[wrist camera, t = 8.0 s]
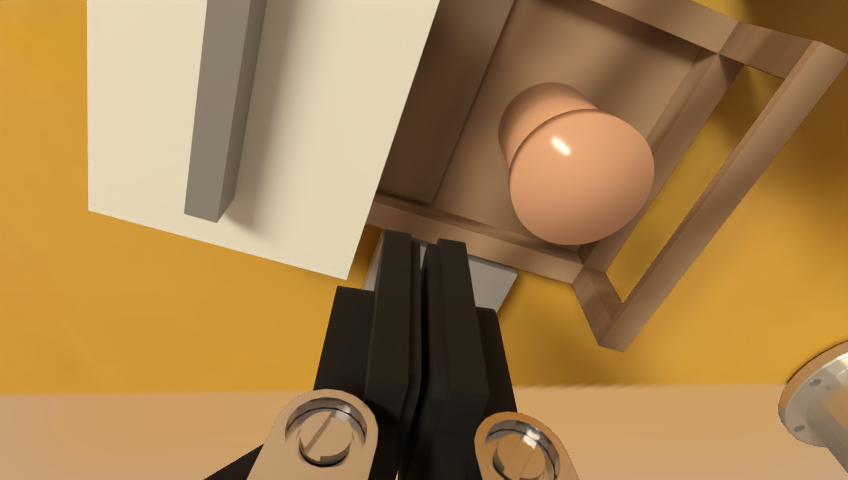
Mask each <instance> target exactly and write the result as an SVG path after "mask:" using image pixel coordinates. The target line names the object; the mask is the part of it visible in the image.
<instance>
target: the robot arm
mask: <svg viewBox="0 0 848 480" xmlns="http://www.w3.org/2000/svg"><path fill="white" fill-rule="evenodd" d="M778 405H779V406H778V407H779V416H780V419H781V422H782V423H783V424H784V425H785V427H786V428H787V430H788V431H789V432H790V433H791V434H792V435H793V436H794V437H795V438H796V439H798V440H800V441H802V442H804V443H807V444H811V445H814V446H818V447H827V448H829V450H830V451H831V452H832V454H833V455H834V456H835V458H836V459H837V460H838V461H839V463H840V464H841V465H842V466H843V468H844V469H845V470H846V471H847V473H848V341H847V342H845V343H842V344H840V345H837V346H835V347H833V348H832V349H830V350H828V351H826V352H824V353H822V354H821V355H819V356H818V357H816V358H815V359H813V360H812V361H810V362H809V363H807V364H806V365H805V366H804V367H803V368H802V369H801V370H799V371H798V372H797V373H796V374H795V375H794V377H793V378H792V379H791V380H790V381H789V383H788V384H787V386H786V387H785V389H784V391H783V393H782V394H781V398H780V401H779V404H778ZM397 472H398V480H579V478H578V475H577V473H576V471H575V469H574V467H573V464H572V462H571V460H570V457H569V455H568V453H567V451H566V449H565V448H564V446H563V444H562V443H561V441H560V439H559V438H558V437H557V436H556V435H555V434H554V433H553V432H552V431H551V430H550V429H549V428H548V427H547V426H546V425H544V424H543V423H541V422H540V421H538V420H536V419H535V418H532V417H530V416H527V415H524V414H522V413H518V412H517V408H516V403H515V398H514V393H513V389H512V384H511V379H510V374H509V370H508V365H507V360H506V356H505V351H504V346H503V341H502V337H501V332H500V327H499V322H498V318H497V314H496V311H495V310H494V309H490V308H484V307H477V306H476V305H475V299H474V292H473V286H472V280H471V273H470V267H469V261H468V255H467V248H466V243H465V242H461V241H455V240H449V239H442V238H439V239H438V241H437V243H436V244H430V243H428V244H427V246H426V250H425V254H424V259H423V263H422V267H421V255H420V242H418V241H412V240H411V233H406V232H400V231H394V230H387V229H385V231H384V236H383V242H382V247H381V253H380V258H379V264H378V270H377V275H376V281H375V286H374V291H370V290H363V289H356V288H349V287H343V286H337V290H336V294H335V298H334V302H333V306H332V311H331V315H330V319H329V324H328V328H327V332H326V337H325V341H324V345H323V350H322V354H321V358H320V363H319V367H318V371H317V376H316V380H315V384H314V389H313V391H310V392H307V393H305V394H302V395H300V396H297V397H296V398H295V399H293V400H292V401H291V402H289V403H288V404H287V405H286V406H285V407H284V408H283V410H282V411H281V412H280V414H279V415H278V417H277V419H276V421H275V422H274V425H273V427H272V429H271V431H270V433H269V435H268V437H267V439H266V441H265V443H264V444H263V445H261V446H259V447H258V448H256V449H254V450H253V451H251V452H249V453H248V454H246V455H244V456H242V457H241V458H239V459H237V460H236V461H234V462H232V463H231V464H229V465H227V466H226V467H224V468H222V469H221V470H219V471H217V472H216V473H214V474H212V475H211V476H209V477H207V478H206V479H204V480H395V479H396V475H397Z"/></svg>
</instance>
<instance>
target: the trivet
mask: <svg viewBox="0 0 848 480" xmlns="http://www.w3.org/2000/svg"><path fill="white" fill-rule="evenodd" d="M384 231H385V229H382V232H381V234H380V237H379V240H378V243H377V246H376V248H375V251H374V254H373V257H372V260H371V262H370V265H369V268H368V271H367V274H366V276H365V279H364V282H363V285H362V288H361V289H363V290H370V291H374V286H375V281H376V275H377V270H378V264H379V258H380V253H381V247H382V242H383V236H384ZM411 240H412V241H418V242H420V255H421V267H422V263H423V259H424V254H425V250H426V246H427V244H428V243H430V242H427V241H423V240H420V239H417V238H413V237H411ZM430 244H434V243H430ZM467 255H468V261H469V267H470V273H471V280H472V286H473V292H474V299H475V305H476V306H477V307H484V308H490V309H494V310H495V311H496V313H497V311H498V310H499V308H500V306H501V304H502V302H503V301H504V299H505V297H506V295H507V293H508V292H509V290H510V288H511V286H512V284H513V283H514V281H515V279H516V277H517V275H518V272H517V269H516V268H515V267H511V266H508V265H505V264H501V263H498V262H495V261H491V260H488V259H484V258H481V257H478V256H474V255H471V254H467Z"/></svg>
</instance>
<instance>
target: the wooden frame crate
mask: <svg viewBox="0 0 848 480" xmlns="http://www.w3.org/2000/svg"><path fill="white" fill-rule="evenodd" d="M847 63H848V54H846V53H844V52H842V51H840V50H837V49H835V48H833V47H831V46H828V45H826V44H824V43H822V42H818V41H814V40H810V39H807V38H803V37H799V36H795V35H791V34H787V33H783V32H779V31H775V30H771V29H767V28H764V27H760V26H756V25H752V24H748V23H744V22H740V21H737V20H735V19H733V18H730V17H728V16H726V15H724V14H721V13H719V12H717V11H714V10H712V9H710V8H708V7H705V6H703V5H701V4H698V3H696V2H694V1H692V0H440V1H439V4H438V7H437V10H436V13H435V16H434V19H433V22H432V25H431V28H430V31H429V34H428V37H427V40H426V43H425V46H424V49H423V52H422V55H421V58H420V61H419V64H418V67H417V70H416V73H415V76H414V79H413V82H412V85H411V88H410V91H409V94H408V97H407V100H406V103H405V106H404V109H403V112H402V115H401V118H400V121H399V124H398V127H397V130H396V133H395V136H394V139H393V142H392V145H391V148H390V151H389V154H388V157H387V160H386V163H385V166H384V169H383V172H382V174H381V177H380V180H379V183H378V186H377V189H376V192H375V195H374V198H373V201H372V204H371V207H370V210H369V213H368V216H367V219H366V222H365V223H366V224H369V225H373V226H376V227H379V228H383V229H387V230H394V231H400V232H406V233H411V237H413V238H417V239H420V240H423V241H427V242H430V243H434V244H436V243H437V241H438V239H439V238H442V239H449V240H455V241H461V242H465V243H466V248H467V254H471V255H474V256H478V257H481V258H484V259H488V260H491V261H495V262H498V263H501V264H505V265H508V266H511V267H515V268H518V269H522V270H525V271H528V272H532V273H535V274H539V275H542V276H545V277H549V278H552V279H556V280H559V281H562V282H566V283H569V284H572V287H573V289H574V291H575V293H576V296H577V298H578V300H579V302H580V305H581V307H582V309H583V311H584V314H585V316H586V318H587V320H588V323H589V325H590V327H591V329H592V331H593V334H594V336H595V338H596V340H597V343H598V345H599V346H602V347H605V348H609V349H613V350H616V351H620V352H624V351H625V350H626V348H627V347H628V346H629V345H630V343H631V342H632V341H633V339H634V338H635V337H636V335H637V334H638V333H639V332H640V330H641V329H642V328H643V326H644V325H645V324H646V323H647V321H648V320H649V319H650V317H651V316H652V315H653V314H654V312H655V311H656V310H657V308H658V307H659V306H660V305H661V303H662V302H663V301H664V299H665V298H666V297H667V296H668V294H669V293H670V292H671V290H672V289H673V288H674V286H675V285H676V284H677V283H678V281H679V280H680V279H681V277H682V276H683V275H684V274H685V272H686V271H687V270H688V268H689V267H690V266H691V265H692V263H693V262H694V261H695V259H696V258H697V257H698V256H699V254H700V253H701V252H702V250H703V249H704V248H705V246H706V245H707V244H708V243H709V241H710V240H711V239H712V237H713V236H714V235H715V234H716V232H717V231H718V230H719V228H720V227H721V226H722V225H723V223H724V222H725V221H726V219H727V218H728V217H729V216H730V214H731V213H732V212H733V210H734V209H735V208H736V206H737V205H738V204H739V203H740V201H741V200H742V199H743V197H744V196H745V195H746V194H747V192H748V191H749V190H750V188H751V187H752V186H753V185H754V183H755V182H756V181H757V179H758V178H759V177H760V176H761V174H762V173H763V172H764V170H765V169H766V168H767V166H768V165H769V164H770V163H771V161H772V160H773V159H774V157H775V156H776V155H777V154H778V152H779V151H780V150H781V148H782V147H783V146H784V145H785V143H786V142H787V141H788V139H789V138H790V137H791V136H792V134H793V133H794V132H795V130H796V129H797V128H798V126H799V125H800V124H801V123H802V121H803V120H804V119H805V117H806V116H807V115H808V114H809V112H810V111H811V110H812V108H813V107H814V106H815V105H816V103H817V102H818V101H819V99H820V98H821V97H822V96H823V94H824V93H825V92H826V90H827V89H828V88H829V86H830V85H831V84H832V83H833V81H834V80H835V79H836V77H837V76H838V75H839V74H840V72H841V71H842V70H843V68H844V67H845V66H846V65H847ZM744 64H745V65H747V66H750V67H753V68H755V69H758V70H760V71H763V72H766V73H768V74H771V75H773V76H776V77H779V78H781V79H784V82H783V83H782V84H781V86H780V87H779V89H778V90H777V91H776V93H775V94H774V96H773V97H772V98H771V100H770V101H769V102H768V104H767V105H766V107H765V108H764V109H763V111H762V112H761V114H760V115H759V116H758V118H757V119H756V120H755V122H754V123H753V125H752V126H751V127H750V129H749V130H748V131H747V133H746V134H745V136H744V137H743V138H742V140H741V141H740V143H739V144H738V145H737V147H736V148H735V149H734V151H733V152H732V154H731V155H730V156H729V158H728V159H727V161H726V162H725V163H724V165H723V166H722V167H721V169H720V170H719V172H718V173H717V174H716V176H715V177H714V179H713V180H712V181H711V183H710V184H709V185H708V187H707V188H706V190H705V191H704V192H703V194H702V195H701V197H700V198H699V199H698V201H697V202H696V203H695V205H694V206H693V208H692V209H691V210H690V212H689V213H688V214H687V216H686V217H685V219H684V220H683V221H682V223H681V224H680V226H679V227H678V228H677V230H676V231H675V232H674V234H673V235H672V237H671V238H670V239H669V241H668V242H667V244H666V245H665V246H664V248H663V249H662V250H661V252H660V253H659V255H658V256H657V257H656V259H655V260H654V262H653V263H652V264H651V266H650V267H649V268H648V270H647V271H646V273H645V274H644V275H643V277H642V278H641V279H640V281H639V282H638V284H637V285H636V286H635V288H634V289H633V291H632V292H631V293H630V295H629V296H628V297H627V299H626V300H625V302H624V303H622V302H621V300H620V298H619V296H618V294H617V293H616V291H615V289H614V287H613V286H612V284H611V282H610V280H609V278H608V277H607V275H606V273H605V271H606V270H607V268H608V267H609V265H610V264H611V262H612V261H613V259H614V258H615V256H616V255H617V253H618V252H619V250H620V249H621V247H622V246H623V244H624V243H625V241H626V240H627V238H628V237H629V235H630V234H631V232H632V231H633V229H634V228H635V226H636V225H637V223H638V222H639V220H640V219H641V217H642V216H643V214H644V213H645V211H646V210H647V208H648V207H649V205H650V204H651V202H652V201H653V199H654V198H655V196H656V195H657V193H658V192H659V190H660V189H661V187H662V186H663V184H664V183H665V181H666V180H667V178H668V177H669V175H670V174H671V173H672V171H673V170H674V168H675V167H676V165H677V164H678V162H679V161H680V159H681V158H682V156H683V155H684V153H685V152H686V150H687V149H688V147H689V146H690V144H691V143H692V141H693V140H694V138H695V137H696V135H697V134H698V132H699V131H700V129H701V128H702V126H703V125H704V123H705V122H706V120H707V119H708V117H709V116H710V114H711V113H712V111H713V110H714V108H715V107H716V105H717V104H718V102H719V101H720V99H721V98H722V96H723V95H724V93H725V92H726V90H727V89H728V87H729V86H730V84H731V83H732V81H733V80H734V78H735V77H736V75H737V74H738V72H739V71H740V69H741V68H742V66H743V65H744ZM547 82H557V83H563V84H567V85H569V86H571V87H574V88H575V89H577V90H578V91H579V92H581V93H582V94H583V95H584V96H585V97H586V98H587V99H588V100H589V101H590V102H591V103H592V104H593V105H594V106H595V107H597V108H598V109H599V110H603V111H607V112H610V113H613V114H615V115H617V116H619V117H621V118H622V119H624V120H625V121H626V122H628V123H629V124H630V125H631V126H632V127H633V128H634V129H636V130H637V131H638V132H639V133H640V134H641V135H642V136H643V138H644V139H645V140H646V142H647V143H648V145H649V147H650V149H651V152H652V155H653V160H654V179H653V184H652V188H651V191H650V193H649V195H648V198H647V200H646V201H645V203H644V205H643V206H642V208H641V209H640V210H639V212H638V213H637V214H636V215H635V216H634V217H633V219H632V220H631V221H629V222H628V223H627V224H626V225H625V226H624V227H622V228H621V229H619V230H618V231H616V232H615V233H613V234H611V235H609V236H607V237H605V238H603V239H600V240H597V241H594V242H591V243H586V244H579V245H562V244H556V243H552V242H548V241H546V240H543V239H541V238H539V237H537V236H535V235H534V234H533V233H531V232H530V231H529V230H528V229H527V228H526V227H525V226H524V225H523V224H522V222H521V221H520V220H519V218H518V216H517V214H516V212H515V209H514V206H513V204H512V201H511V198H510V195H509V189H508V174H509V169H508V166H507V164H506V161H505V159H504V156H503V154H502V151H501V148H500V145H499V140H498V128H499V123H500V120H501V117H502V115H503V113H504V111H505V109H506V107H507V106H508V105H509V103H510V102H511V101H512V100H513V99H514V98H515V97H516V96H517V95H518V94H520V93H521V92H522V91H524V90H526V89H528V88H529V87H532V86H534V85H537V84H541V83H547Z"/></svg>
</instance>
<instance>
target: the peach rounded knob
mask: <svg viewBox="0 0 848 480" xmlns="http://www.w3.org/2000/svg"><path fill="white" fill-rule="evenodd" d="M498 140H499V145H500V148H501V151H502V154H503V156H504V159H505V161H506V164H507V166H508V169H509V174H508V189H509V195H510V198H511V201H512V204H513V206H514V209H515V212H516V214H517V216H518V218H519V220H520V221H521V222H522V224H523V225H524V226H525V227H526V228H527V229H528V230H529V231H530V232H531V233H533V234H534V235H535V236H537V237H539V238H541V239H543V240H546V241H548V242H552V243H556V244H562V245H579V244H586V243H591V242H594V241H597V240H600V239H603V238H605V237H607V236H609V235H611V234H613V233H615V232H616V231H618V230H619V229H621V228H622V227H624V226H625V225H626V224H627V223H628V222H629V221H631V220H632V219H633V217H634V216H635V215H636V214H637V213H638V212H639V210H640V209H641V208H642V206H643V205H644V203H645V201H646V200H647V198H648V195H649V193H650V191H651V188H652V184H653V179H654V160H653V155H652V152H651V149H650V147H649V145H648V143H647V142H646V140H645V139H644V138H643V136H642V135H641V134H640V133H639V132H638V131H637V130H636V129H634V128H633V127H632V126H631V125H630V124H629V123H628V122H626V121H625V120H624V119H622V118H621V117H619V116H617V115H615V114H613V113H610V112H607V111H603V110H599V109H598V108H597V107H595V106H594V105H593V104H592V103H591V102H590V101H589V100H588V99H587V98H586V97H585V96H584V95H583V94H582V93H581V92H579V91H578V90H577V89H575V88H574V87H571V86H569V85H567V84H563V83H557V82H547V83H541V84H537V85H534V86H532V87H529V88H528V89H526V90H524V91H522V92H521V93H520V94H518V95H517V96H516V97H515V98H514V99H513V100H512V101H511V102H510V103H509V105H508V106H507V107H506V109H505V111H504V113H503V115H502V117H501V120H500V123H499V128H498Z"/></svg>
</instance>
